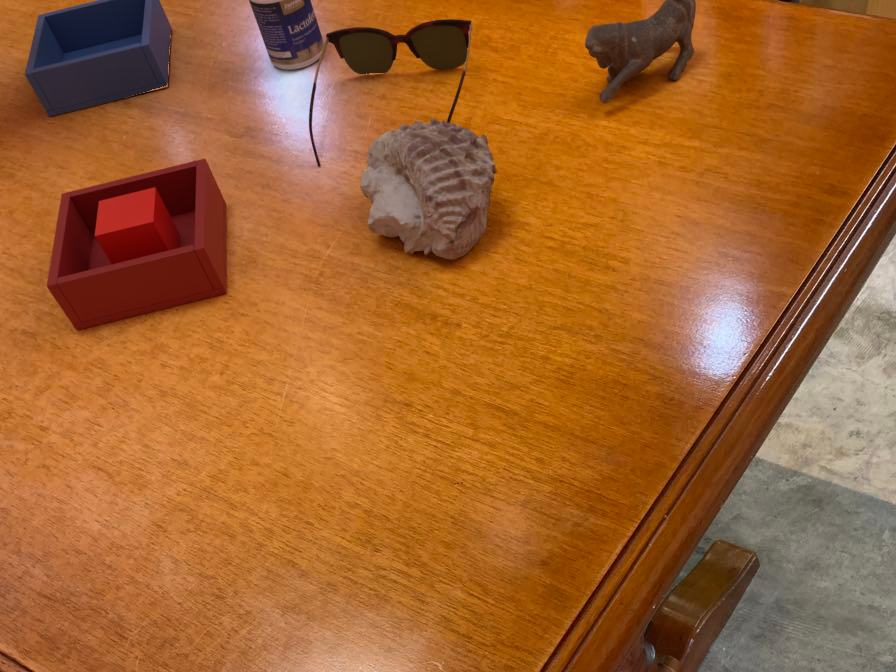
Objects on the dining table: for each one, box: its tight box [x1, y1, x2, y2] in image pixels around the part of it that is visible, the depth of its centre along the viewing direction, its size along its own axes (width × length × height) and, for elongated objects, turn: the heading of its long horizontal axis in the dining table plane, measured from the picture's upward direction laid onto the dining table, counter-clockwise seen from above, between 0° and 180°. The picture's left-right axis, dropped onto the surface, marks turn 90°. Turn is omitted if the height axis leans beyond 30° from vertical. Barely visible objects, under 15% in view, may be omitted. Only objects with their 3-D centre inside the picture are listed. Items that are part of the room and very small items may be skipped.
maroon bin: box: [46, 158, 228, 331], centre depth 85 cm, size 13×13×5 cm
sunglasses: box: [308, 18, 473, 167], centre depth 94 cm, size 14×15×5 cm
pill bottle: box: [248, 0, 325, 71], centre depth 101 cm, size 6×6×10 cm
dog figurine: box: [584, 0, 697, 104], centre depth 90 cm, size 12×6×7 cm, turn 124°
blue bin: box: [24, 0, 172, 118], centre depth 107 cm, size 13×13×5 cm
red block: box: [95, 187, 180, 264], centre depth 85 cm, size 5×5×5 cm
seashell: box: [359, 117, 498, 261], centre depth 83 cm, size 14×9×10 cm
